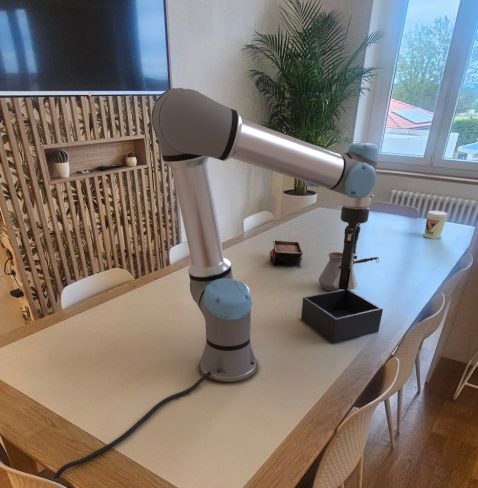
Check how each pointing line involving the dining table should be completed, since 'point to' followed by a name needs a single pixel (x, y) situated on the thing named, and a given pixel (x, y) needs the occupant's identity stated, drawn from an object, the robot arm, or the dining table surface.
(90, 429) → the dining table surface
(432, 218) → the coffee cup
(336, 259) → the coffee pot
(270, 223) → the dining table surface
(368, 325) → the dark grey open box
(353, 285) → the flask
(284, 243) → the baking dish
